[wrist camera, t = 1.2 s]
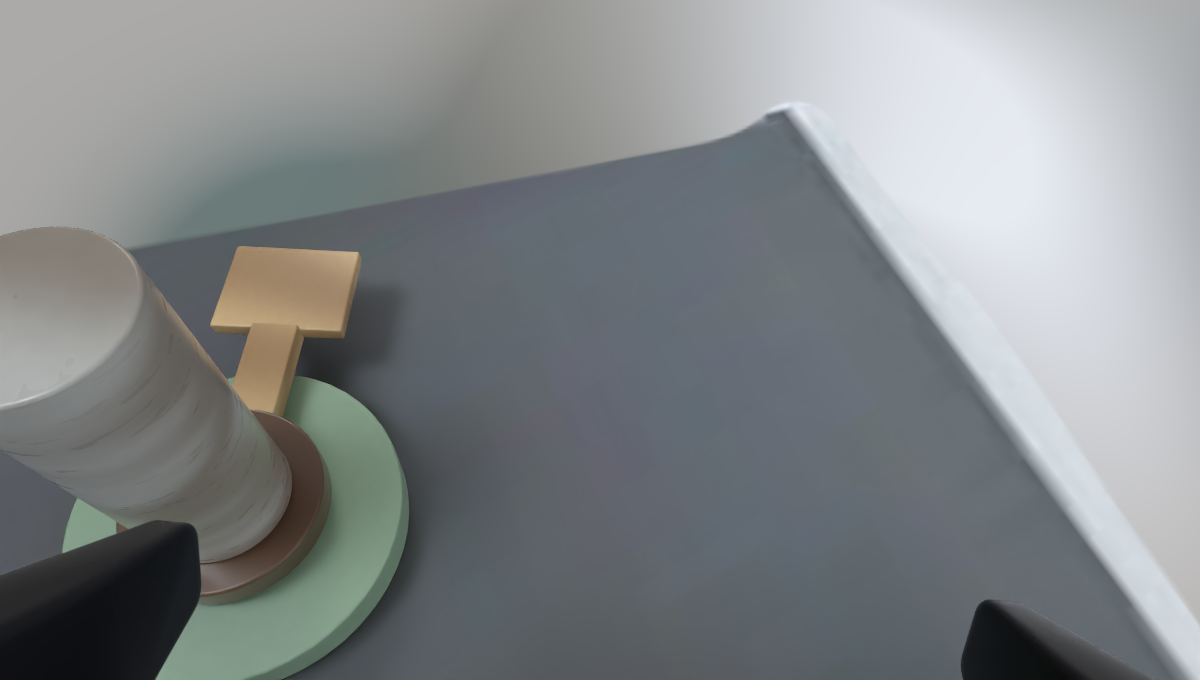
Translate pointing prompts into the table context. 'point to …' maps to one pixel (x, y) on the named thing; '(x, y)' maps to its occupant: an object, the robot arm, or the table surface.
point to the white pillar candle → (171, 395)
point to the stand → (324, 577)
